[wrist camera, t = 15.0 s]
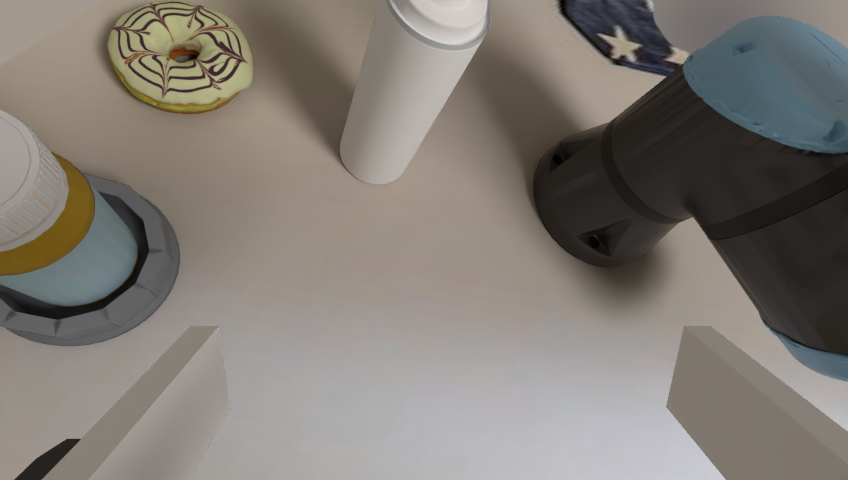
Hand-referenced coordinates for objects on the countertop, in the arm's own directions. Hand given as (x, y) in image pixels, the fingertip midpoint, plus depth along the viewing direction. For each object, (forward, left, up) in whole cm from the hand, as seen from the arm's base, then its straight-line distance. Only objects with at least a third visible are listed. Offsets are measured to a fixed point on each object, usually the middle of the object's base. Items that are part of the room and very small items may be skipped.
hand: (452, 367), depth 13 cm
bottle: (+15, -14, -24) cm, 32 cm away
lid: (+15, -14, -25) cm, 32 cm away
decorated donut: (+5, -30, -25) cm, 40 cm away
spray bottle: (-9, -19, -25) cm, 33 cm away
